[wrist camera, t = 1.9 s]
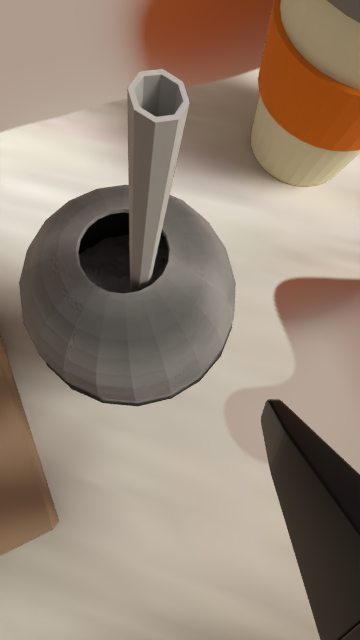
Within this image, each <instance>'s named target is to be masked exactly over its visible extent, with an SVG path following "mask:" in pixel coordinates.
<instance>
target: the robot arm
mask: <svg viewBox="0 0 360 640" xmlns="http://www.w3.org/2000/svg"><path fill="white" fill-rule="evenodd" d="M261 425H262V430H263V436H264V441H265V446H266V451H267V457H268V463H269V467H270V471H271V475H272V479H273V482H274V485H275V489H276V492H277V495H278V499H279V502H280V506H281V509H282V512H283V516H284V519H285V522H286V526H287V529H288V532H289V536H290V539H291V542H292V546H293V549H294V552H295V556H296V559H297V562H298V566H299V569H300V573H301V576H302V579H303V583H304V586H305V589H306V593H307V596H308V599H309V603H310V606H311V609H312V613H313V616H314V619H315V623H316V626H317V629H318V633H319V636H320V639H321V640H360V474H359V473H357V472H356V471H355V470H354V469H353V468H352V467H351V466H350V465H349V464H348V463H347V462H346V461H345V460H344V459H343V458H342V457H340V456H339V455H338V454H337V453H336V452H335V451H334V450H333V449H332V448H331V447H330V446H329V445H328V444H327V443H326V442H325V441H323V440H322V439H321V438H320V437H319V436H318V435H317V434H316V433H315V432H314V431H313V430H312V429H311V428H310V427H309V426H308V425H307V424H305V423H304V422H303V421H302V420H301V419H300V418H299V417H298V416H297V415H296V414H295V413H294V412H293V411H292V410H291V409H289V407H287V406H286V405H285V404H284V403H283V402H282V401H281V400H277V399H269V400H267V401H266V403H265V407H264V410H263V413H262V416H261Z"/></svg>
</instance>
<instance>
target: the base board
mask: <svg viewBox="0 0 360 640" xmlns="http://www.w3.org/2000/svg"><path fill="white" fill-rule="evenodd" d="M58 522H59V519H58V516H57V513H56V510H55V507H54V503H53V500H52V497H51V494H50V491H49V488H48V484H47V481H46V478H45V475H44V472H43V469H42V466H41V462H40V459H39V456H38V453H37V450H36V447H35V444H34V440H33V437H32V434H31V431H30V428H29V425H28V422H27V418H26V415H25V412H24V409H23V406H22V403H21V400H20V396H19V393H18V390H17V387H16V384H15V381H14V378H13V374H12V371H11V368H10V365H9V362H8V359H7V355H6V352H5V349H4V346H3V343H2V340H1V337H0V555H2V554H4V553H6V552H8V551H10V550H12V549H14V548H16V547H18V546H20V545H22V544H24V543H26V542H28V541H30V540H32V539H34V538H36V537H38V536H40V535H42V534H44V533H46V532H48V531H50V530H52V529H53V528H54V527H55V526H56V524H57V523H58Z"/></svg>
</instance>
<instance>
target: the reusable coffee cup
mask: <svg viewBox="0 0 360 640" xmlns="http://www.w3.org/2000/svg"><path fill="white" fill-rule="evenodd" d="M258 84H259V92H260V96H259V100H258V105H257V109H256V114H255V118H254V123H253V127H252V132H251V147H252V150H253V153H254V155H255V157H256V159H257V161H258V162H259V163H260V165H261V166H262V167H263V168H264V169H265V170H266V171H267V172H268V173H269V174H270V175H272V176H273V177H275V178H277V179H278V180H280V181H283V182H285V183H287V184H291V185H295V186H305V187H309V186H317V185H320V184H323V183H325V182H327V181H329V180H331V179H332V178H333V177H334V176H335V175H337V174H338V173H339V172H340V171H341V170H342V169H343V168H344V167H345V166H346V165H347V164H348V163H349V162H351V161H352V160H353V159H354V158H355V157H356V156H357V155H358V154H359V153H360V0H274V3H273V7H272V12H271V17H270V22H269V27H268V32H267V37H266V41H265V46H264V51H263V56H262V61H261V66H260V71H259V77H258Z"/></svg>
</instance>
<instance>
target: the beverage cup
mask: <svg viewBox="0 0 360 640" xmlns="http://www.w3.org/2000/svg"><path fill="white" fill-rule="evenodd" d="M189 103H190V102H189V99H188V96H187V92H186V89H185V86H184V83H183V81H181V80H179V79H178V78H176V77H175V76H173V75H171V74H170V73H168V72H167V71H165V70H163V69H158V70H149V71H140V72H139V73H138V74H137V76H136V77H135V79H134V80H133V81H132V83H131V84H130V85H129V87H128V162H129V185H122V186H114V187H107V188H99V189H96V190H93V191H91V192H89V193H86V194H84V195H82V196H79V197H77V198H75V199H72V200H70V201H68V202H67V203H66V204H65V205H64V206H62V207H61V208H60V209H59V210H58V211H56V212H55V213H54V214H53V215H52V216H50V217H49V218H48V219H47V220H46V221H45V222H44V224H43V225H42V227H41V229H40V230H39V232H38V233H37V235H36V236H35V238H34V240H33V241H32V243H31V244H30V246H29V248H28V250H27V253H26V257H25V261H24V266H23V270H22V274H21V278H20V282H19V285H20V295H21V304H22V313H23V322H24V325H25V327H26V329H27V331H28V333H29V335H30V337H31V339H32V341H33V343H34V345H35V347H36V349H37V351H38V353H39V354H40V356H41V357H42V359H43V360H44V361H45V362H46V364H47V366H48V367H49V368H50V369H51V370H53V371H54V372H55V373H56V374H57V375H58V376H59V377H60V378H61V379H62V380H63V381H64V382H65V383H66V384H67V385H68V386H69V387H70V388H71V389H73V390H75V391H78V392H80V393H82V394H84V395H87V396H89V397H91V398H93V399H95V400H98V401H100V402H102V403H109V404H120V405H130V406H141V405H145V404H149V403H154V402H158V401H162V400H166V399H171V398H173V397H174V396H176V395H178V394H179V393H181V392H182V391H184V390H186V389H187V388H189V387H191V386H192V385H194V384H196V383H197V382H199V381H200V380H201V379H202V378H203V377H204V375H205V374H206V373H207V372H208V371H209V369H210V368H211V367H212V366H213V365H214V363H215V362H216V361H217V360H218V359H219V357H220V356H221V354H222V351H223V349H224V346H225V344H226V341H227V339H228V336H229V333H230V331H231V328H232V322H233V318H234V306H235V285H236V283H235V279H234V275H233V272H232V268H231V265H230V261H229V258H228V254H227V251H226V248H225V246H224V245H223V243H222V242H221V240H220V239H219V237H218V236H217V234H216V233H215V231H214V230H213V228H212V227H211V225H210V224H209V223H208V221H207V220H206V219H205V218H203V217H202V216H201V215H200V214H198V213H197V212H196V211H195V210H194V209H192V208H191V207H190V206H189V205H188V204H186V203H185V202H184V201H183V200H180V199H178V198H176V197H173V196H171V195H170V190H171V186H172V181H173V177H174V172H175V168H176V163H177V158H178V154H179V149H180V145H181V140H182V136H183V131H184V126H185V122H186V117H187V113H188V108H189Z"/></svg>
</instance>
